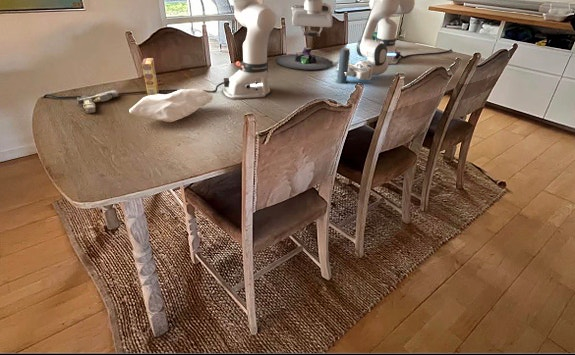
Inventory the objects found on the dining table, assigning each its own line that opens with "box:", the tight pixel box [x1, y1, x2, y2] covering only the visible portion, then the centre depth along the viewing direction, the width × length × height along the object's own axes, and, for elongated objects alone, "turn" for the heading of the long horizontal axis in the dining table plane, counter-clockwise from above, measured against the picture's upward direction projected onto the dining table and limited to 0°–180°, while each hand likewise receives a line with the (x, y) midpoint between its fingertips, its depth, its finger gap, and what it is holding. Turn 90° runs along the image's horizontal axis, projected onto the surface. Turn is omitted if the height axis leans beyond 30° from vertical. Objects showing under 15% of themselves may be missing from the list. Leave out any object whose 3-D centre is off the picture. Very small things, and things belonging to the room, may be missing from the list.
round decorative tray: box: [275, 46, 334, 71], centre depth 220 cm, size 35×35×9 cm
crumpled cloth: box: [129, 88, 214, 123], centre depth 147 cm, size 24×35×9 cm
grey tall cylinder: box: [336, 47, 351, 84], centre depth 189 cm, size 5×5×17 cm
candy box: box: [141, 57, 160, 96], centre depth 163 cm, size 9×4×15 cm, turn 13°
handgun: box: [76, 89, 120, 114], centre depth 155 cm, size 3×18×15 cm
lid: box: [305, 30, 318, 37], centre depth 184 cm, size 6×6×2 cm
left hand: (311, 35), depth 185 cm, fingers closed on lid, 6 cm apart
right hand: (341, 72), depth 190 cm, fingers closed on grey tall cylinder, 5 cm apart
